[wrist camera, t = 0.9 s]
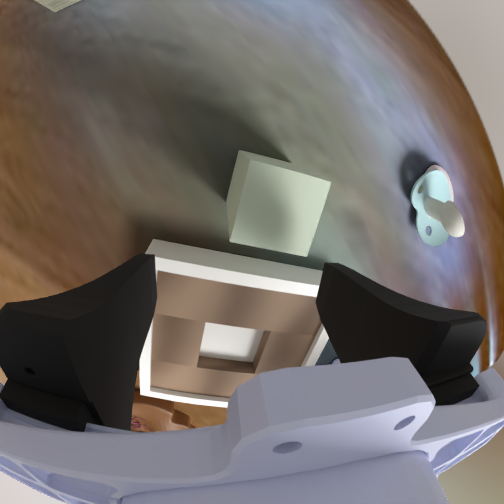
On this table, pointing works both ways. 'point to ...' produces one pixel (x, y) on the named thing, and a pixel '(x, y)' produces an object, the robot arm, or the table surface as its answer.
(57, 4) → the skincare box
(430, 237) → the pacifier
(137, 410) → the plant
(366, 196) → the table surface
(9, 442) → the robot arm
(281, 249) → the peg
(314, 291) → the tray
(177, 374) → the hole plate
